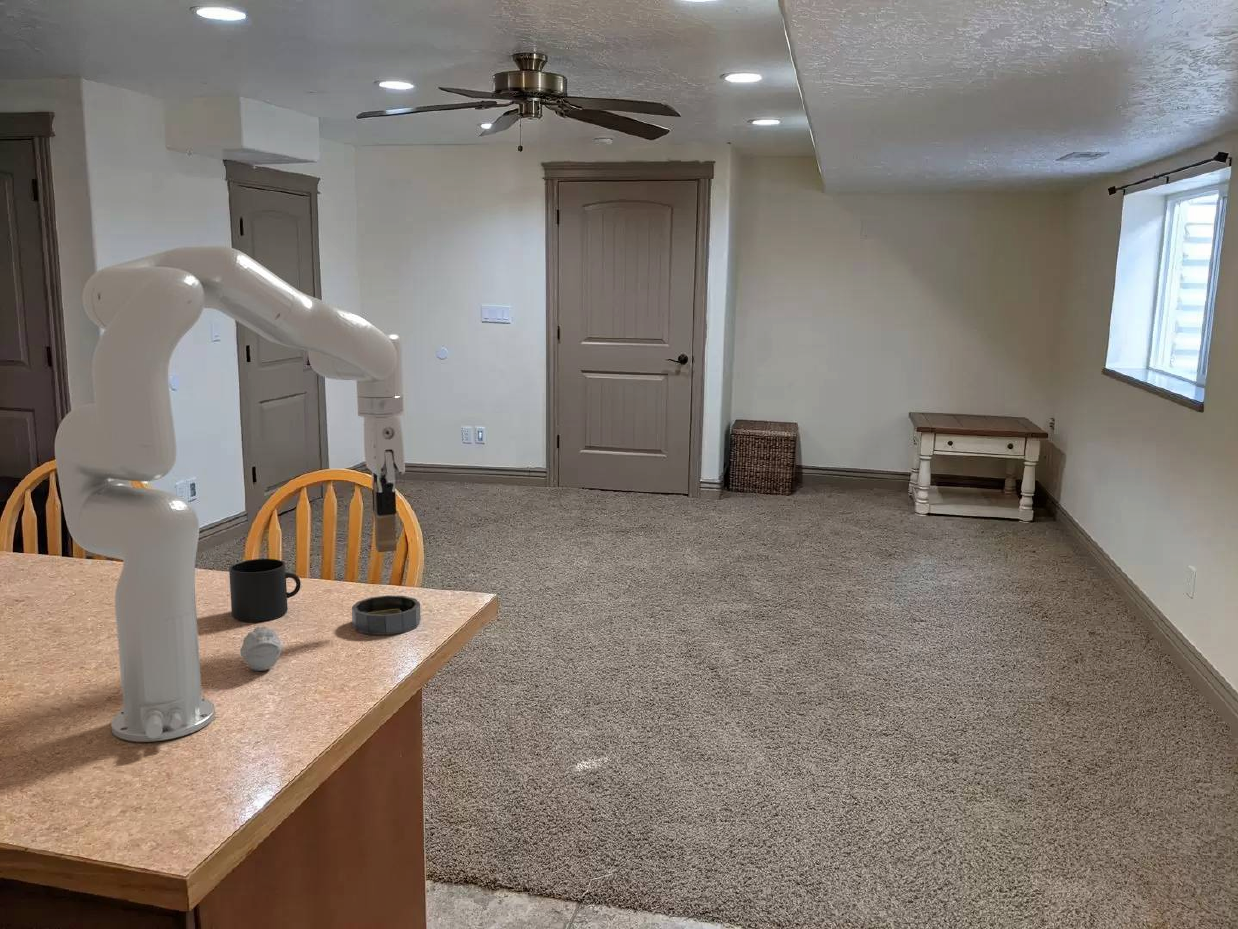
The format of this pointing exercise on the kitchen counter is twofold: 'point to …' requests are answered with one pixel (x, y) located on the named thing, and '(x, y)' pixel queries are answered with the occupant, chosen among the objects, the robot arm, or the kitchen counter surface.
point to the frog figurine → (261, 648)
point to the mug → (260, 589)
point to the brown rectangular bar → (384, 528)
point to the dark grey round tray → (386, 615)
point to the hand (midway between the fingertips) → (384, 512)
